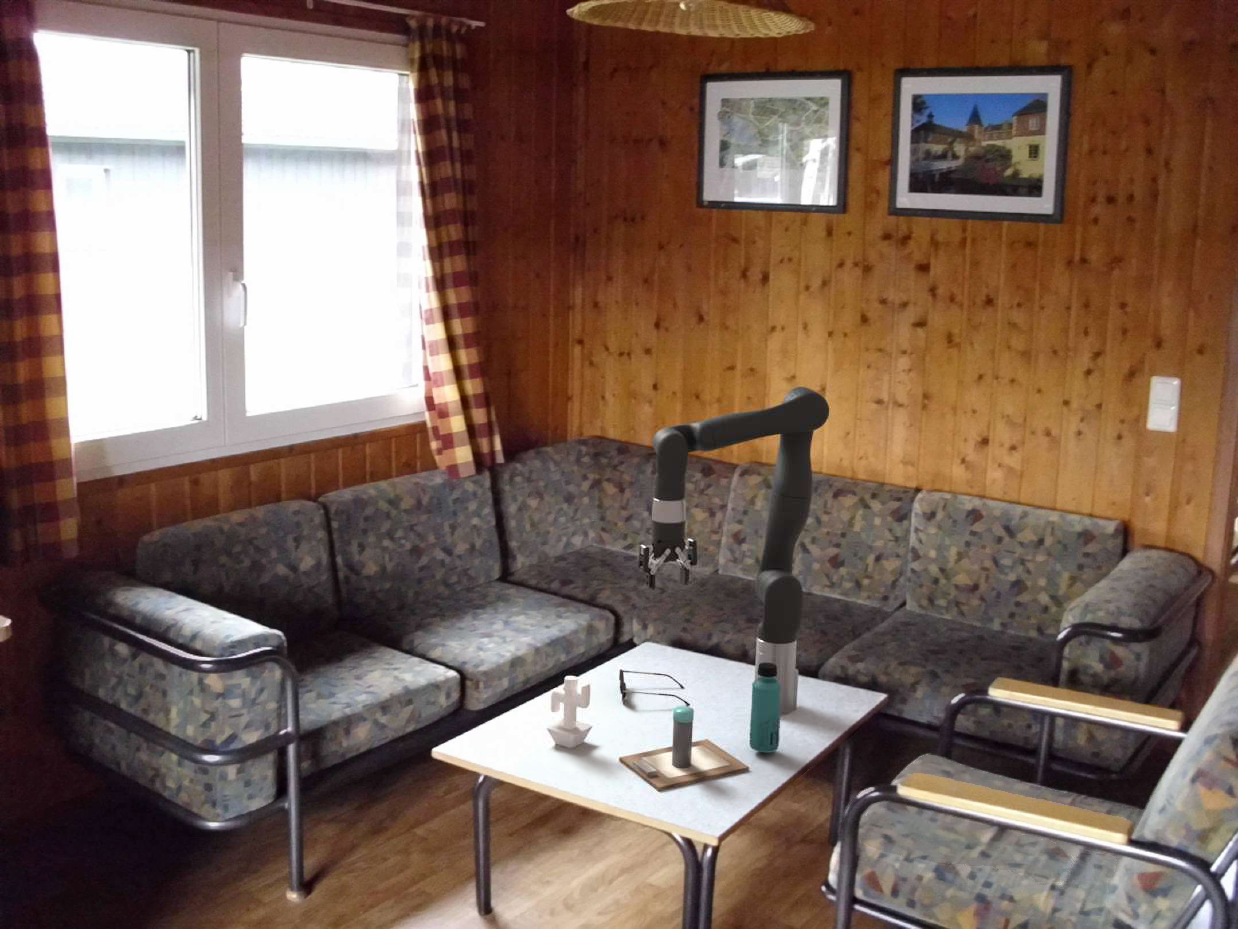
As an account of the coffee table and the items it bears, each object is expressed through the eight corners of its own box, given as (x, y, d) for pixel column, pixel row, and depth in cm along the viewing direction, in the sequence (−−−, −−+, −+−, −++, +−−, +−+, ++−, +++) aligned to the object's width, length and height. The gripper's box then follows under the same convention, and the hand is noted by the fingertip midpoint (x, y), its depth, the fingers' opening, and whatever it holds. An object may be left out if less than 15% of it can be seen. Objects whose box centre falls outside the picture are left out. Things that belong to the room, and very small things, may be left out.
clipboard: (706, 742, 294) (707, 734, 293) (748, 770, 280) (749, 762, 280) (619, 761, 283) (619, 753, 283) (658, 791, 269) (658, 782, 269)
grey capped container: (684, 758, 283) (686, 704, 281) (695, 766, 279) (697, 711, 277) (667, 762, 281) (669, 708, 278) (678, 770, 277) (680, 715, 275)
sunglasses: (617, 687, 326) (619, 667, 325) (683, 691, 327) (685, 671, 326) (621, 708, 313) (623, 688, 312) (690, 712, 314) (692, 692, 313)
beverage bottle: (770, 762, 285) (775, 672, 281) (742, 754, 288) (747, 665, 284) (784, 751, 290) (789, 663, 286) (756, 744, 294) (760, 657, 290)
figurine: (561, 732, 297) (562, 667, 294) (596, 742, 292) (598, 677, 289) (542, 743, 291) (543, 677, 288) (577, 753, 286) (579, 686, 283)
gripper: (650, 524, 295) (649, 595, 299) (704, 517, 302) (702, 587, 306) (633, 517, 302) (632, 586, 305) (686, 510, 309) (685, 578, 312)
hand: (667, 586), depth 305 cm, fingers open, 8 cm apart
